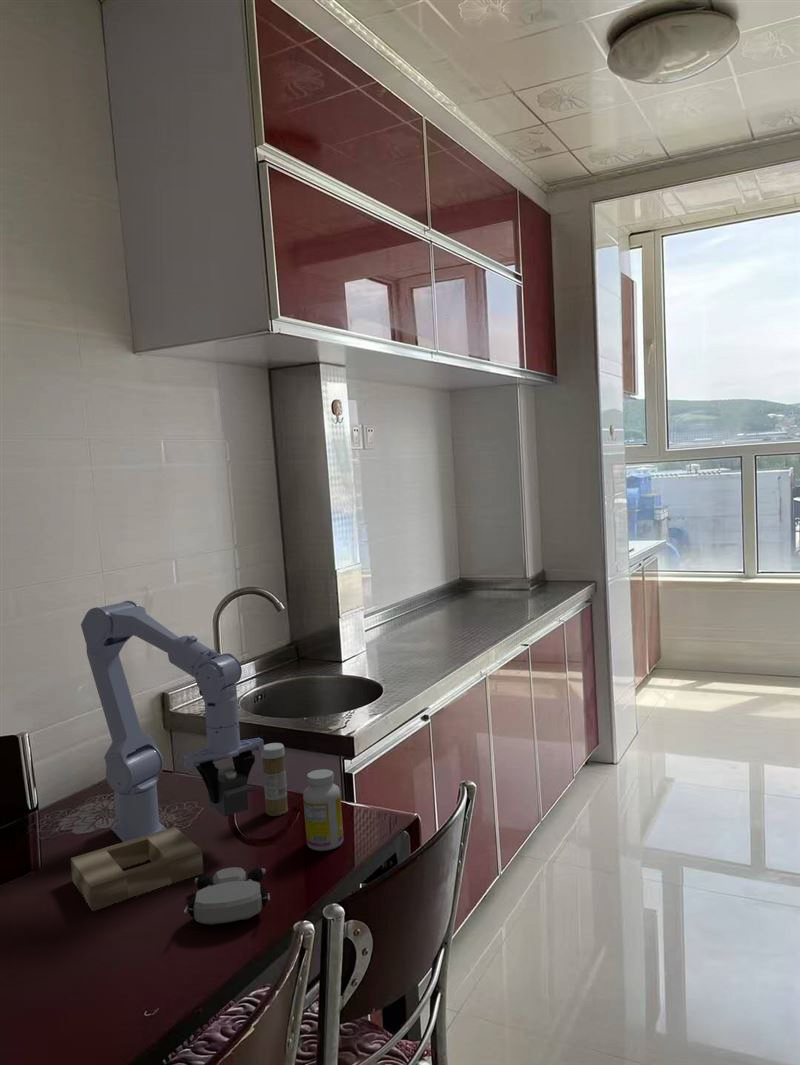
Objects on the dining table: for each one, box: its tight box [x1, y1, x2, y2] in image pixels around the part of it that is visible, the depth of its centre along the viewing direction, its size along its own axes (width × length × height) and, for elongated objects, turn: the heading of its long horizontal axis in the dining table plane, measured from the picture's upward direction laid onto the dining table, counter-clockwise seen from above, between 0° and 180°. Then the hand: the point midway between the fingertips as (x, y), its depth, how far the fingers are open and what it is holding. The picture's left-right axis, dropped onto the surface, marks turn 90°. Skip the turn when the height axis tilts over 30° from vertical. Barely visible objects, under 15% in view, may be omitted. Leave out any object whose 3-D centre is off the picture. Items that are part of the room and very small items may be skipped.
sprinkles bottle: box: [260, 742, 289, 817], centre depth 156 cm, size 5×5×14 cm
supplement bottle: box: [302, 768, 344, 852], centre depth 141 cm, size 7×7×13 cm
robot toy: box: [183, 866, 271, 926], centre depth 121 cm, size 12×4×15 cm
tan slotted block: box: [70, 826, 204, 912], centre depth 132 cm, size 13×18×4 cm
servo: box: [201, 766, 254, 817], centre depth 142 cm, size 12×4×7 cm, turn 36°
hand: (227, 797), depth 142 cm, fingers closed on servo, 4 cm apart
